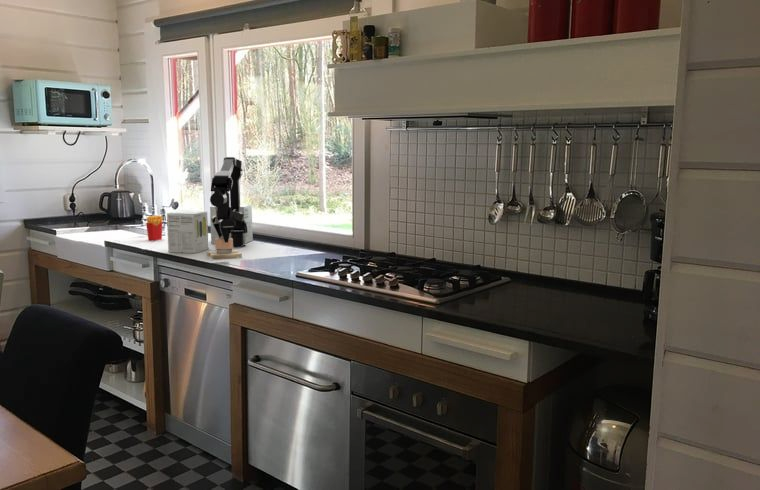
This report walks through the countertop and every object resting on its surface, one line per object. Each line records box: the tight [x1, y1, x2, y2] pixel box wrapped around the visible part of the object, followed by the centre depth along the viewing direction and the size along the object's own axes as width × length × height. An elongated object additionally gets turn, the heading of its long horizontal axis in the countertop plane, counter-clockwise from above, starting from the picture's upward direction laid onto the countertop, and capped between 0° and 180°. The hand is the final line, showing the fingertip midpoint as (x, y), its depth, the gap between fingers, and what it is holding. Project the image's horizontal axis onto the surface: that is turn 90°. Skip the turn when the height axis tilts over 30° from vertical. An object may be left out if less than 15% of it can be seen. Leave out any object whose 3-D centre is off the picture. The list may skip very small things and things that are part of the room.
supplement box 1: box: [166, 209, 209, 254], centre depth 285 cm, size 13×13×18 cm
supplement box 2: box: [209, 204, 254, 245], centre depth 312 cm, size 17×13×18 cm
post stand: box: [206, 236, 243, 260], centre depth 272 cm, size 12×12×8 cm
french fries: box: [145, 214, 164, 242], centre depth 317 cm, size 8×4×12 cm, turn 143°
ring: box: [214, 238, 234, 249], centre depth 272 cm, size 7×7×4 cm
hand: (223, 241), depth 272 cm, fingers open, 9 cm apart
